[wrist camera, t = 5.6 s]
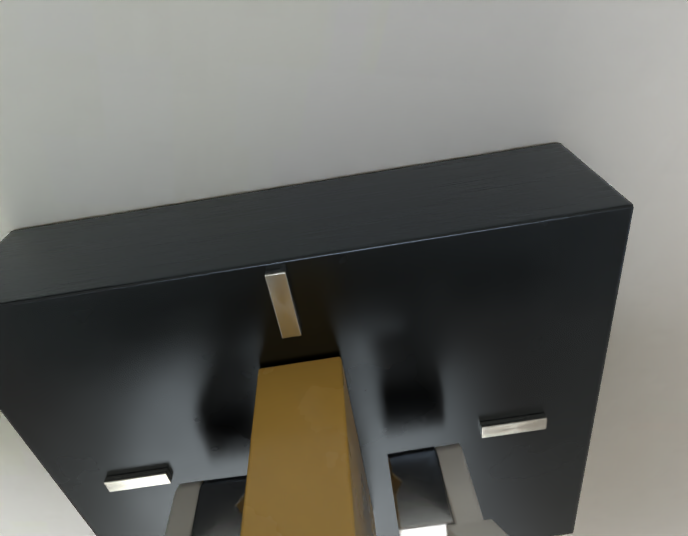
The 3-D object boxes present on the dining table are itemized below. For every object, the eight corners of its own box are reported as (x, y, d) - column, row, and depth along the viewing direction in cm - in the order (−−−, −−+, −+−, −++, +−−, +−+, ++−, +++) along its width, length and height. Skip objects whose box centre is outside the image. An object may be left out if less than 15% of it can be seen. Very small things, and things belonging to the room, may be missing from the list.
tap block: (560, 141, 11) (641, 208, 8) (533, 442, 16) (576, 540, 14) (10, 230, 11) (-81, 322, 9) (164, 495, 17) (138, 600, 14)
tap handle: (257, 367, 10) (234, 573, 7) (340, 354, 10) (357, 556, 7) (310, 525, 13) (311, 717, 10) (374, 516, 13) (395, 706, 10)
